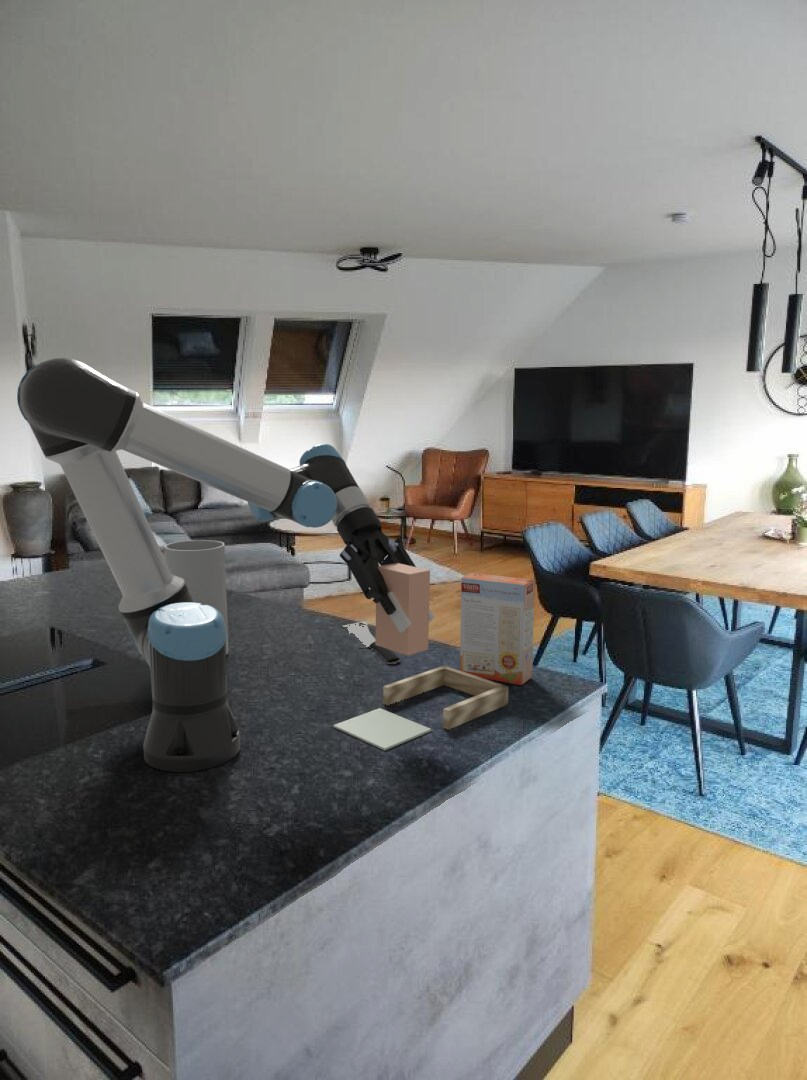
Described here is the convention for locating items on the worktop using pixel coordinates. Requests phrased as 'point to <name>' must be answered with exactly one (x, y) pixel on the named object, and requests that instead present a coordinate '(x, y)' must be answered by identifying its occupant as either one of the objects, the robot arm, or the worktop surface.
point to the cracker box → (497, 627)
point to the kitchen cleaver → (371, 641)
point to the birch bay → (483, 690)
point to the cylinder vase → (201, 572)
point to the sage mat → (382, 728)
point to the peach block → (405, 609)
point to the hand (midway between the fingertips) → (417, 624)
